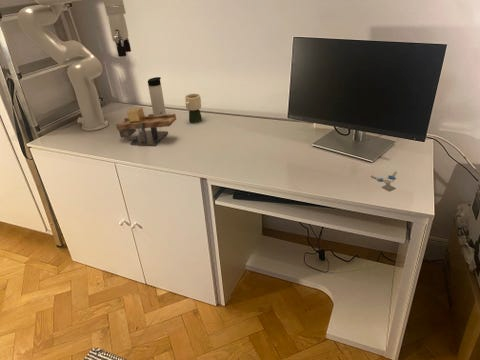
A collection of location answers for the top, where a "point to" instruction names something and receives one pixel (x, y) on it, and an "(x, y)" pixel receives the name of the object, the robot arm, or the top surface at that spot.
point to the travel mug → (156, 96)
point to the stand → (148, 136)
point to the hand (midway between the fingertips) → (125, 54)
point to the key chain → (387, 186)
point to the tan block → (136, 115)
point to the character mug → (193, 107)
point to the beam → (145, 124)
